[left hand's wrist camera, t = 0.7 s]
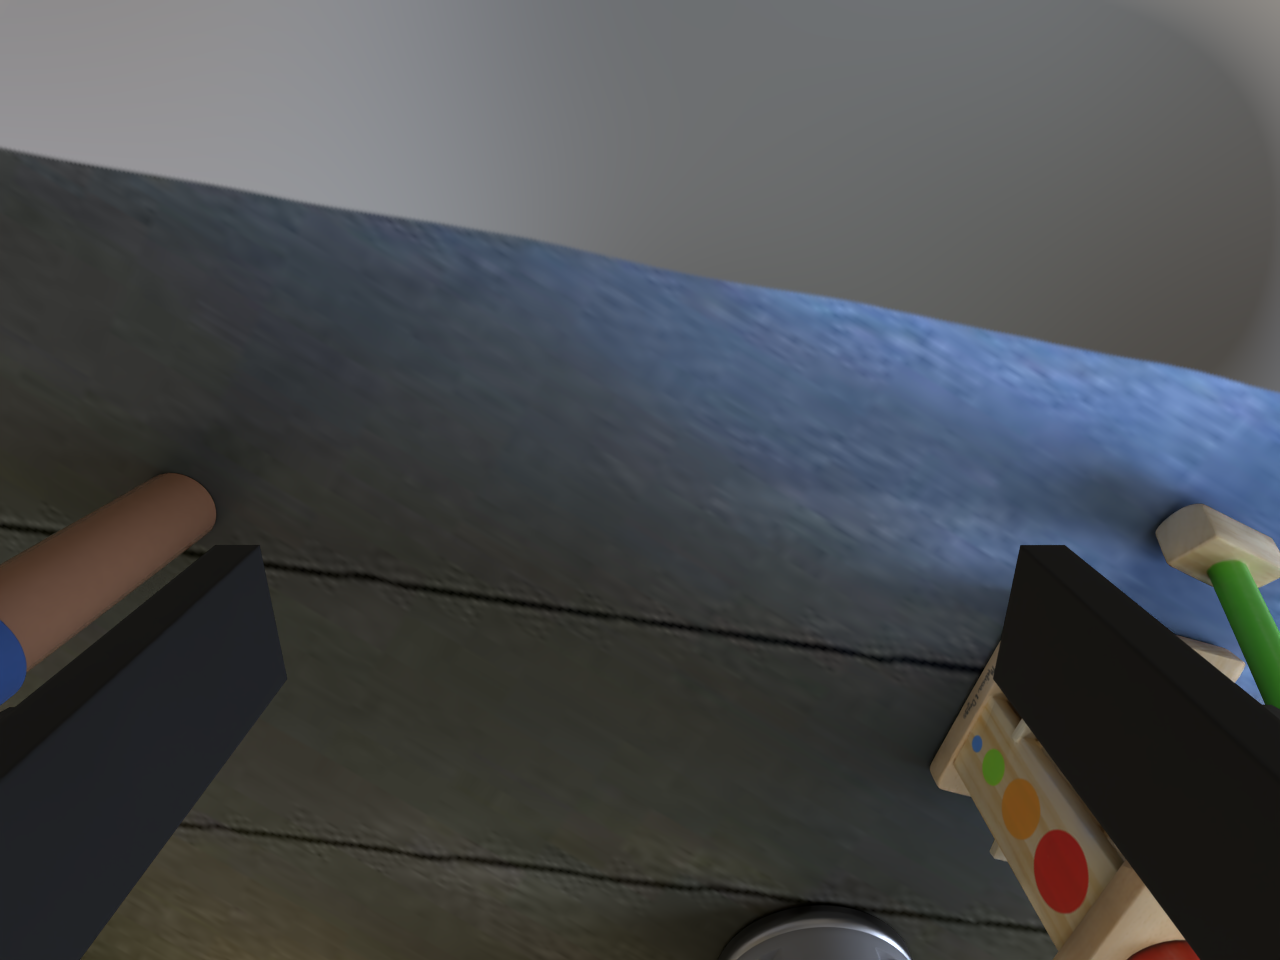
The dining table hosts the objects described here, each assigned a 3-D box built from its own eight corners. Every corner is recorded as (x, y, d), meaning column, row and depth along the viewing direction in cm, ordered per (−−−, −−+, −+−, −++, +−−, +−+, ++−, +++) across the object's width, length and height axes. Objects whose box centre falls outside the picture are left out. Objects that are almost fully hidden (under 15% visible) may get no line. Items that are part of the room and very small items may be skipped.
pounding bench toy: (1094, 466, 41) (1402, 646, 25) (1311, 532, 43) (1740, 743, 26) (924, 772, 49) (1070, 1066, 33) (1112, 819, 51) (1344, 1122, 34)
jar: (225, 538, 43) (-1, 721, 28) (154, 542, 43) (-109, 727, 28) (205, 470, 42) (-45, 625, 26) (131, 475, 42) (-160, 631, 27)
